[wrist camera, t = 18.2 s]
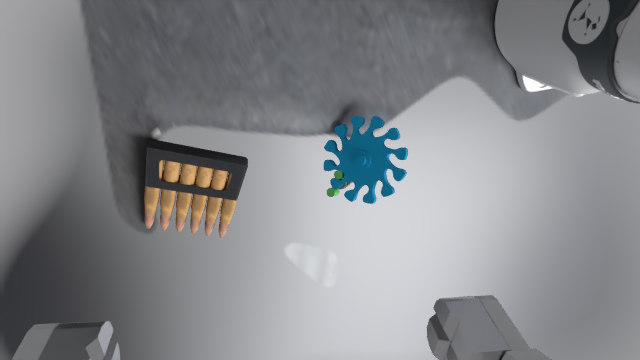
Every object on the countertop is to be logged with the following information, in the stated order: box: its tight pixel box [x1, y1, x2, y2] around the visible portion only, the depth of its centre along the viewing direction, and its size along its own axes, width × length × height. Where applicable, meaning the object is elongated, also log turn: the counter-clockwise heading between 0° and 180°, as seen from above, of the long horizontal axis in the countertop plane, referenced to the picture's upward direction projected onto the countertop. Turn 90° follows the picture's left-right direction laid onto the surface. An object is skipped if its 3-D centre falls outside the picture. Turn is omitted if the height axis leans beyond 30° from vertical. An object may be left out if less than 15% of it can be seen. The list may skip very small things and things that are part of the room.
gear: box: [324, 116, 408, 204], centre depth 45 cm, size 11×6×10 cm
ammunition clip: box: [144, 139, 248, 238], centre depth 45 cm, size 11×2×12 cm
